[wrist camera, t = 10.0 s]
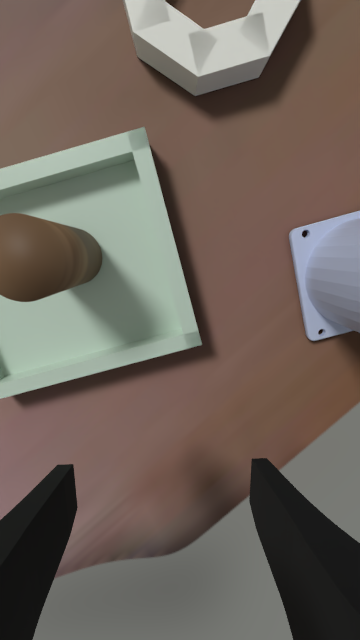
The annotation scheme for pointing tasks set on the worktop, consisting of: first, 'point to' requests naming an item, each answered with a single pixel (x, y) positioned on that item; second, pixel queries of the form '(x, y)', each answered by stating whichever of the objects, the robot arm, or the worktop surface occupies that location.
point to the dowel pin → (44, 257)
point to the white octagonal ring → (207, 43)
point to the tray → (115, 273)
